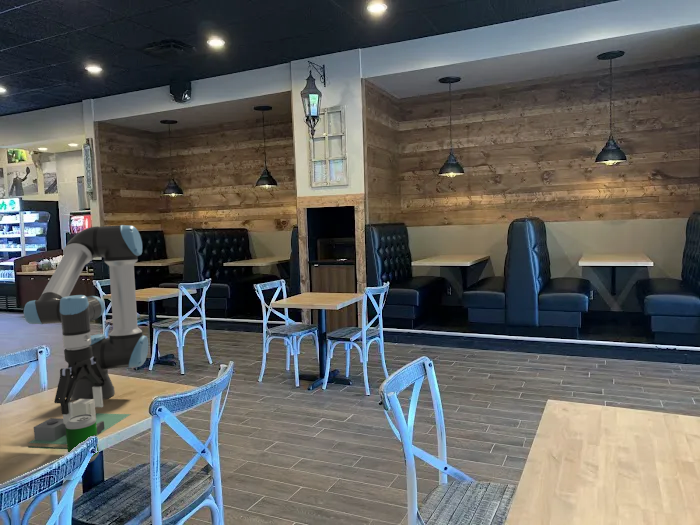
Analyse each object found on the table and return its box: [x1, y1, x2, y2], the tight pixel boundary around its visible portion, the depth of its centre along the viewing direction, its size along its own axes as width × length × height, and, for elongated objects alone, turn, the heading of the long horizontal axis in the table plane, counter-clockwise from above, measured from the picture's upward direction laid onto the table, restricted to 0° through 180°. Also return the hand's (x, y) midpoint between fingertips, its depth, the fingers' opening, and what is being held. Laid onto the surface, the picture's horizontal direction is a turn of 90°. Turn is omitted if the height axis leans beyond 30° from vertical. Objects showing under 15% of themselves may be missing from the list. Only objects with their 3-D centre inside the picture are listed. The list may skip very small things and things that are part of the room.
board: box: [28, 412, 132, 450], centre depth 165 cm, size 24×18×6 cm
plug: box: [72, 399, 97, 418], centre depth 160 cm, size 4×6×10 cm
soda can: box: [65, 414, 100, 464], centre depth 145 cm, size 8×8×12 cm
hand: (84, 415), depth 160 cm, fingers open, 13 cm apart
